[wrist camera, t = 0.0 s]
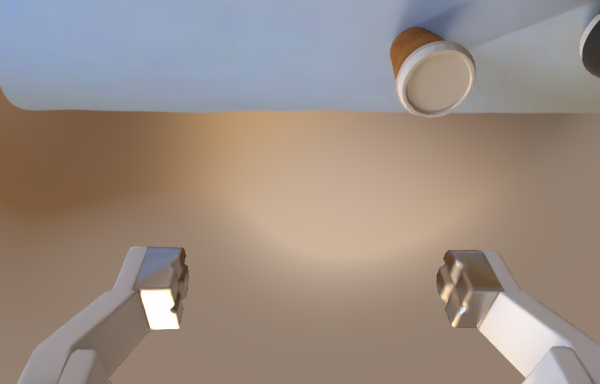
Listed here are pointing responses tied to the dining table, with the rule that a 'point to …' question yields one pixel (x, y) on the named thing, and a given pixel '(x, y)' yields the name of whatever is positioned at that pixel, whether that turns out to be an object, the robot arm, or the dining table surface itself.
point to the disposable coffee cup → (431, 73)
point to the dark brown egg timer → (591, 47)
